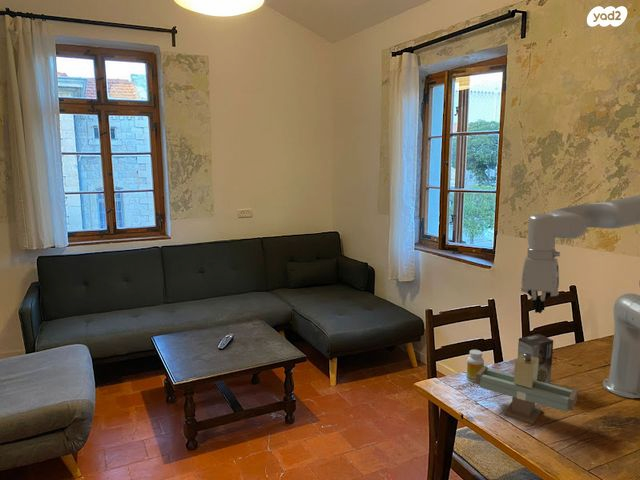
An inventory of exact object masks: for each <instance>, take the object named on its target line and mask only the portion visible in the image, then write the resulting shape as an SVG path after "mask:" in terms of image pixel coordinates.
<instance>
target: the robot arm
mask: <svg viewBox="0 0 640 480" xmlns="http://www.w3.org/2000/svg"><path fill="white" fill-rule="evenodd" d="M638 224H640V194H637V195H633V196H628V197H624V198H619V199H613V200H608V201H598V202H593V203H584V204H576V205H570V206H565V207H561V208H557V209H553V210H552V211H550V212H549V213H533V214H530V216H529V218H528V226H527V231H528V233H527V256H525V257H524V261H523V265H522V266H523V267H522V274H521V288H520V291H521V292H523V293H525V294H528V295H529V297H530V298H531V299H532V300H533V308H532V309H533V310H534V313H536V314H541V313H542V312H543V311H545V303H546V300H547V299H549V298H550V297H557V296H559V294H560V293H559V285H560V273H559V272H560V270H559V262H558V258H557V257H560V256H561V252H559V251H557V250H556V238H558V239H559V238H560V239H561V238H562V239H577V238H579V237H582V236H583V235H584V234H585V232H586V231H587V228H599V229H620V228H625V227H629V226H634V225H638ZM638 285H639V287H640V280H639V281H638ZM538 292H541V294H540V297H539V293H538ZM612 311H613V323H614V330H613V331H614V333H613V343H612V351H611V361H610V368H609V377H607V378H604V379H603V381H602V382H603V383H602V385H603V387H604V389H605V390H607V391H609V392H610V393H612V394H614V395H617V396H620V397H622V398H626V399H627V398H628V399H634V398H640V294H636V293H624V294H621V295H620V296H619V297H618V298H617V299H616V300H615V302H614V304H613V309H612Z"/></svg>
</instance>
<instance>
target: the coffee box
mask: <svg viewBox="0 0 640 480" xmlns="http://www.w3.org/2000/svg"><path fill="white" fill-rule="evenodd" d="M517 346H518V347H517V358H518V357H519V356H520V354H524V353H530V354H531V356H532V357H536V358H539V362H538V375H537V381H540V382H543V383H547V384H551V378H552V377H551V376H552V365H553V353H554V351H553V349H554V339H551V338H549V337H547V336H545V335H542V334H539V333H536V334H533V335H528V336H523V337H519V338H518V345H517Z"/></svg>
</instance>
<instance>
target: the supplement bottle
mask: <svg viewBox="0 0 640 480" xmlns="http://www.w3.org/2000/svg"><path fill="white" fill-rule="evenodd" d="M466 358H467V359H466V379H467V380H468V381H470V382H473V383H476V374H477V373H478V372H479V371H480V369H481V368H482V367H483V366H485V365H484V364H485V359H484V358H483V352H482V351H481V350H479V349H471V350H469V356H468V357H466Z"/></svg>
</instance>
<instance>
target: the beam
mask: <svg viewBox="0 0 640 480" xmlns="http://www.w3.org/2000/svg"><path fill="white" fill-rule="evenodd" d="M475 384H476V385H479V388H481V389H484V390H487V391H488V390H489V391H491V392H494V393H498V394H502V395H506V396H508V397H512V398H511V399H512V401H511V402H510V403H509V404H508V405H509V406H508V407H507V408H506V410H505V411H504V416H506V417H509V418H512V419H515V420H519V421H521V422H525V423H528V424H531V425H535V422H536V420H537V419H538V417H539V415H540V413H541V412H542V407H541V406H544V407H547V408H551V409H555V410H558V411H560V412H561V411H562V412H566V413H568V411H571V412H572V411H574V408H575V405H576V403H577V401H578V392H579V389H577V388H572V389H570V388H566V387H562V386H558V385H554V384H551V383H550V384H547V383H543V382H540V381H536V383H535V384H534V386H533V388H528V387H525V386H521V385H517V384H514V374H512V373H508V372H504V371H500V370H496V369H492V368H489V367H488V366H486V365H484V366H483V367H482V368H481V369H480V371H479V372H478V373H477V374H476V382H475ZM536 404H537V405H540V406H537V405H536Z"/></svg>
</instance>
